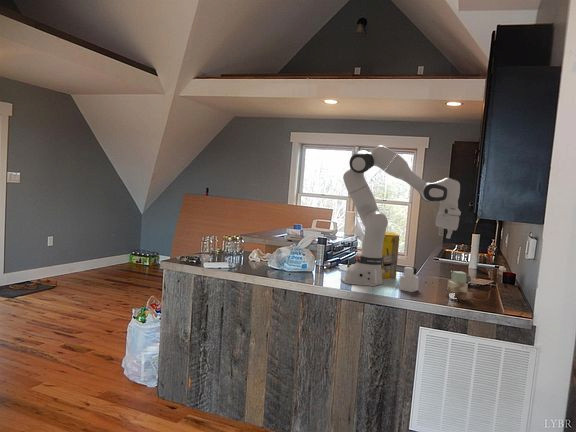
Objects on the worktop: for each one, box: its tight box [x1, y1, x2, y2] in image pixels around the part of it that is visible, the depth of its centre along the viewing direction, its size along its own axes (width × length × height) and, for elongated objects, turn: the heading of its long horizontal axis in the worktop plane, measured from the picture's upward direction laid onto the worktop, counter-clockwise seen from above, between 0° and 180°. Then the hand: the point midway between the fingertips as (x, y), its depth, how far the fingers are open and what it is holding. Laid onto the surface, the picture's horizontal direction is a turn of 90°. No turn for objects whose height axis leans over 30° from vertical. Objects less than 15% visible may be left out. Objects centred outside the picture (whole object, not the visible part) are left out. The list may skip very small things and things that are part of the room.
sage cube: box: [451, 270, 468, 284], centre depth 231 cm, size 5×5×5 cm
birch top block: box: [446, 280, 469, 293], centre depth 231 cm, size 7×7×4 cm
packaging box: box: [381, 231, 400, 280], centre depth 276 cm, size 16×16×25 cm
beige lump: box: [446, 288, 468, 301], centre depth 232 cm, size 7×7×4 cm
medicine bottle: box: [398, 266, 420, 293], centre depth 242 cm, size 7×7×12 cm
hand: (444, 237), depth 240 cm, fingers open, 8 cm apart
